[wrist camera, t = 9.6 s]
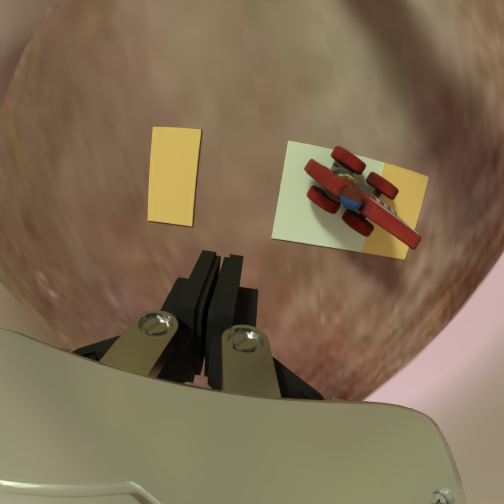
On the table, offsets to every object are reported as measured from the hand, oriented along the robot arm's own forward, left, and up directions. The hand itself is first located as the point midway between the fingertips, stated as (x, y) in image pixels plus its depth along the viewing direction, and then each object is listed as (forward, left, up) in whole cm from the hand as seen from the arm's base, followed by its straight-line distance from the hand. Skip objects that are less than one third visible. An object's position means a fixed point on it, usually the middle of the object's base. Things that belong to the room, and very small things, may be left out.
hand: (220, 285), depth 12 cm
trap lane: (0, +5, -23) cm, 24 cm away
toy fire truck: (-1, +12, -23) cm, 26 cm away
